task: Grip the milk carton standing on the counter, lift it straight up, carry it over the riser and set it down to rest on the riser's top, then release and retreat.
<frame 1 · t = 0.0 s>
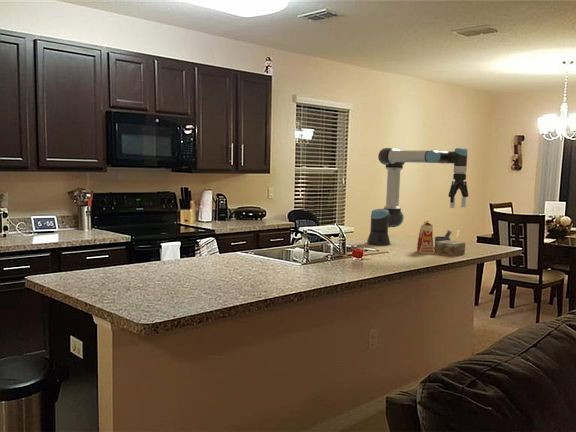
hand: (457, 207, 328), 28 cm above the worktop, fingers open, 13 cm apart
mortar and pestle: (442, 248, 348), on the worktop
milk carton: (425, 252, 328), on the worktop
riser: (449, 253, 324), on the worktop
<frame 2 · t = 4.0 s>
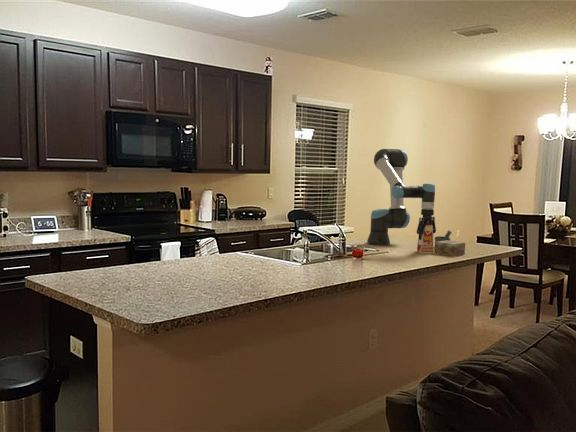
hand: (425, 244, 327), 5 cm above the worktop, fingers closed on milk carton, 11 cm apart
milk carton: (425, 252, 328), on the worktop, touching gripper
everything else where it was.
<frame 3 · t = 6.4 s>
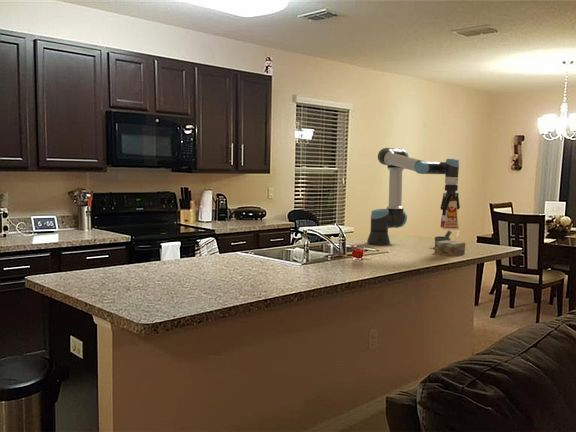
hand: (449, 220, 322), 21 cm above the worktop, fingers closed on milk carton, 11 cm apart
milk carton: (449, 228, 323), point 15 cm above the worktop, touching gripper
everything else where it was.
when the fingers open (13 cm above the worktop, at t = 8.8 s): milk carton stays where it is, resting on riser.
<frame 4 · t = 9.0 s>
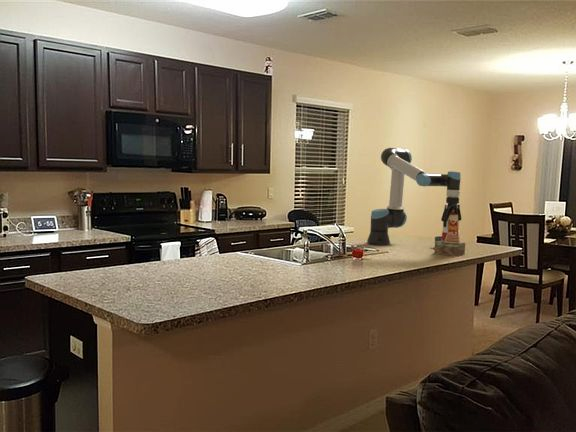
hand: (450, 231, 323), 14 cm above the worktop, fingers open, 13 cm apart
milk carton: (450, 242, 324), point 7 cm above the worktop, touching riser
everything else where it was.
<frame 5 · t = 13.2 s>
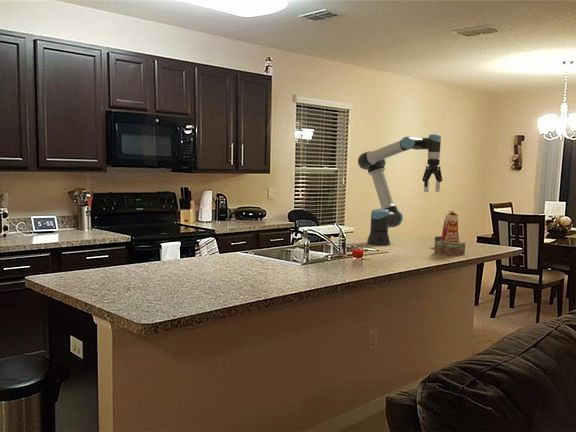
hand: (431, 191, 341), 37 cm above the worktop, fingers open, 13 cm apart
nothing on the worktop moved.
at the end: milk carton inside the target area on the riser (0.0 cm from its centre), point 6.8 cm above the riser's base; milk carton tilted 0°; the gripper is holding nothing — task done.
